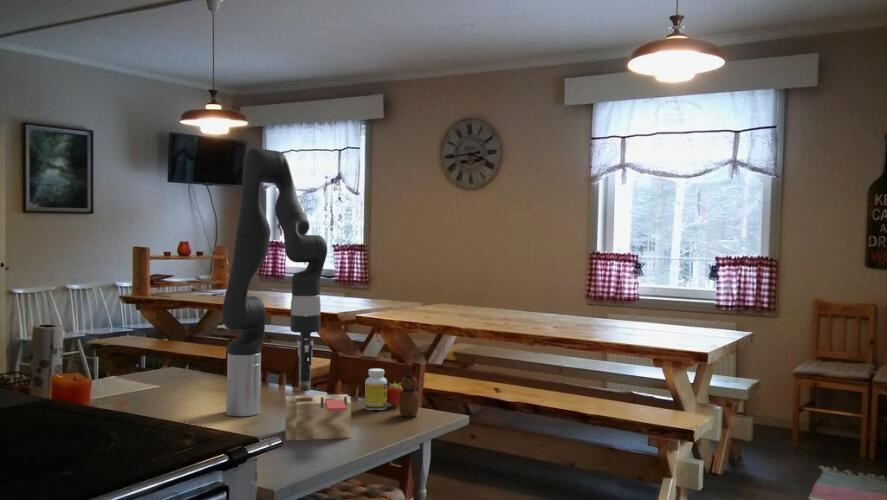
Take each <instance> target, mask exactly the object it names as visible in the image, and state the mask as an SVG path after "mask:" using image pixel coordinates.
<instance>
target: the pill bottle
mask: <svg viewBox="0 0 887 500" xmlns="http://www.w3.org/2000/svg"><path fill="white" fill-rule="evenodd" d="M367 372H368V376H369V377H367V378H366V379H365V382H364V384H365V388H364V389H365V392H364V396H365V398H364V408H365V409H366V410H368V411H372V410H380V411H383V410H386V409H387V406H388V402H387V401H388V399H387V388H388V380H387V378H386V377H384V375H385V369H383V368H369V369H368V371H367Z"/></svg>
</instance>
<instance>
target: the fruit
mask: <svg viewBox="0 0 887 500" xmlns="http://www.w3.org/2000/svg"><path fill="white" fill-rule="evenodd" d="M388 384H389V386H387V401H388V403H389V404H390V405H391V406H393V407H395V408H397V407H399V395H400V392H401V391H402V390H403V388H402V387H401V382H399V383H397V382H396V381H394V383H389V382H388Z"/></svg>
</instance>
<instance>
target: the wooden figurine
mask: <svg viewBox="0 0 887 500" xmlns="http://www.w3.org/2000/svg"><path fill="white" fill-rule="evenodd" d="M413 373H414V372H412V369H411V365H410V364H409V363H408V362H406V368H405V376H403V377H402V379H401V381H400V383H401V384H400V386H401V387H402V388H403V390H402V391H401V392H400V395H399V405H398V407H399V413H400V415H401V416H403V417H405V418H413V417H415V416H416V415H417V414H418V411H419V407H420V396H419V392H418V391H417V390H416V389H417V388H418V379H417V377H415V376H414V374H413Z"/></svg>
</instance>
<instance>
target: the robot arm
mask: <svg viewBox="0 0 887 500" xmlns="http://www.w3.org/2000/svg"><path fill="white" fill-rule="evenodd" d="M243 161H244V162H243V167H242V183H241V198H240V209H239V215H238V221H237V226H236V227H237V228H236V233H235V240H234V249H233V258H232V264H231V269H230V273H229V279H228V283H227V288H226V291H225V295H224V298H223V303H222V310H221V317H222V322H223V325H224V327H225V328H226V329H228V330H230V331H240V333H239V334H238V336H237V337H236V338H235V339H233V340H231V341H230V342H229V343H228V345H227V370H226V371H227V375H226V377H227V378H226V379H227V380H226V404H225V405H226V411H225V413H226V414H225V416H232V417H249V416H250V417H251V416H256V415H259V414H260V413H261V382H262V381H261V378H262V376H261V375H262V373H261V371H262V369H261V368H262V366H261V365H262V346H263V344H264V341H265V329H266V308H265V304H264V302H263V300H262V299H261V298H260V297H258V296H254V295H250V296H249V295H248V292H249V288H250V284H251V282H252V280H253V278H254V277H255V275H256V273H257V272H258V270H259V269H260V267H261V266H262V264H263V263H264V261H265V259H266V257H267V256H268V253H269V246H270V241H271V240H270V239H271V228H270V224H269V221H268V219H267V217H266V214H265V211H264V210H263V208H262V205H261V201H260V183H263V184H273V185H274V186H275V187H276V188H277V189H278V196H277V199H276V202H275V206H274V207H275V208H274V211H275V212H274V213H275V217H276V219H277V222H278V223H279V225H280V228H281V229H282V233H283V241H284V251H285V255H286V257H287V258H288V259H289V260H290V261H291V262H293V263H307V266H306V267H305V269H304V270H301V271H297V272H295V273H294V274H293V275H292V277H291V302H290V332H293V333H298V334H300V336H299V337H297V338H296V339H297V341H296V344H297V355H298V358H299V357H300V358H301V362H300V366H301V381H302V382H308V381H309V380H310V366H311V367H312V358H313V347H314V339H313V337H311V335H312V333H317V332H321V310H322V309H321V297H320V295H321V294H320V293H321V288H320V287H321V278H322V273H323V269H324V266H325V263H326V258H327V255H328V245H327V242H326V240H325V238H324V237H323V236H321V235H316V234H307V233H308V232H309V230H310V222H309V220H308V218H307V215H306V214H305V211H304V210H303V208H302V206H301V203H300V201H299V198H298V195H297V191H296V188H295V184H294V179H293V176H292V172H291V169H290V165H289V162H288V160H287V157H286V156H285V154H284V153H282V152H281V151H278V150H271V149H265V148H259V147H251V148H250V149H249V150H247V152H246V155H245V157H244V160H243ZM304 358H308V361H303V359H304Z"/></svg>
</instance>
